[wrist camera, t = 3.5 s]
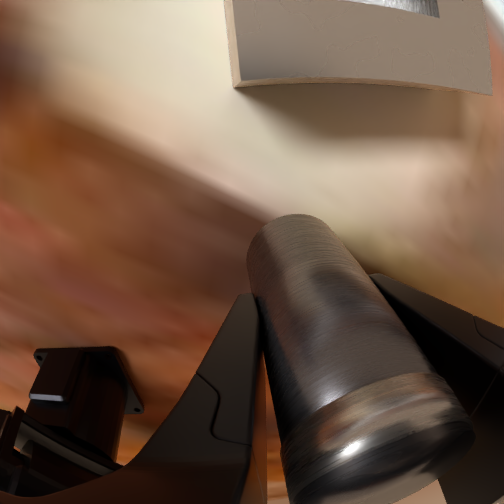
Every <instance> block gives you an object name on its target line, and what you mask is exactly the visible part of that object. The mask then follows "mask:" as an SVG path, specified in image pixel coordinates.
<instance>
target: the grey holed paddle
mask: <svg viewBox="0 0 504 504" xmlns="http://www.w3.org/2000/svg"><path fill="white" fill-rule="evenodd" d="M224 7H225V17H226V26H227V36H228V45H229V55H230V64H231V74H232V83H233V88H236V87H246V86H258V85H272V84H292V83H360V84H379V85H393V86H405V87H415V88H423V89H431V90H445V91H456V92H466V93H475V94H483V95H490V96H492V74H491V60H490V50H489V41H488V33H487V26H486V20H485V14H484V8H483V3H482V0H224Z"/></svg>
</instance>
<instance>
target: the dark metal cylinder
mask: <svg viewBox="0 0 504 504" xmlns="http://www.w3.org/2000/svg"><path fill="white" fill-rule="evenodd" d="M247 269H248V275H249V280H250V285H251V291H252V293H253V294H254V296H255V300H256V304H257V309H258V313H259V319H260V328H261V339H262V349H263V354H264V359H265V364H266V369H267V375H268V380H269V385H270V390H271V395H272V400H273V406H274V411H275V416H276V421H277V426H278V431H279V436H280V441H281V450H280V456H281V461H282V467H283V472H284V477H285V482H286V487H287V492H288V497H289V502H290V504H392V503H394V502H397V501H399V500H401V499H403V498H405V497H407V496H409V495H411V494H413V493H415V492H417V491H419V490H421V489H422V488H424V487H426V486H427V485H429V484H430V483H432V482H434V481H435V480H437V479H438V478H440V477H441V476H442V475H444V474H445V473H446V472H448V471H449V470H450V469H451V468H452V467H454V466H455V465H456V464H457V463H458V462H459V461H460V460H461V459H462V458H463V457H464V456H465V455H466V454H467V453H468V451H469V450H470V449H471V447H472V446H473V444H474V442H475V439H476V435H475V433H474V431H473V423H472V421H471V420H470V418H469V416H468V415H467V413H466V412H465V410H464V408H463V407H462V405H461V404H460V402H459V400H458V399H457V397H456V396H455V394H454V392H453V391H452V389H451V388H450V386H449V385H448V383H447V382H446V380H445V379H444V378H443V377H441V376H439V375H438V373H437V372H436V370H435V369H434V367H433V366H432V364H431V363H430V361H429V360H428V358H427V357H426V355H425V354H424V352H423V351H422V349H421V348H420V346H419V345H418V343H417V342H416V341H415V339H414V338H413V336H412V335H411V333H410V332H409V331H408V329H407V328H406V326H405V325H404V324H403V322H402V321H401V319H400V318H399V317H398V315H397V314H396V312H395V311H394V310H393V308H392V307H391V306H390V304H389V303H388V302H387V300H386V299H385V297H384V296H383V295H382V293H381V292H380V291H379V289H378V288H377V287H376V285H375V284H374V283H373V281H372V280H371V279H370V278H369V276H368V275H367V274H366V272H365V271H364V270H363V268H362V267H361V266H360V265H359V263H358V262H357V261H356V259H355V258H354V257H353V256H352V254H351V253H350V252H349V251H348V249H347V248H346V247H345V246H344V244H343V243H342V242H341V241H340V239H339V238H338V237H337V236H336V234H335V233H334V232H333V231H332V230H331V228H330V227H329V226H328V225H327V224H326V223H324V222H323V221H322V220H320V219H318V218H316V217H313V216H310V215H305V214H291V215H285V216H282V217H279V218H277V219H275V220H273V221H271V222H269V223H268V224H266V225H265V226H264V227H263V228H262V229H261V230H260V231H259V232H258V233H257V234H256V235H255V237H254V238H253V240H252V242H251V244H250V246H249V249H248V252H247Z"/></svg>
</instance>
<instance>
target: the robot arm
mask: <svg viewBox="0 0 504 504" xmlns="http://www.w3.org/2000/svg"><path fill="white" fill-rule="evenodd" d="M368 276H369V278H370V279H371V280H372V281H373V283H374V284H375V285H376V287H377V288H378V289H379V291H380V292H381V293H382V295H383V296H384V297H385V299H386V300H387V302H388V303H389V304H390V306H391V307H392V308H393V310H394V311H395V312H396V314H397V315H398V317H399V318H400V319H401V321H402V322H403V324H404V325H405V326H406V328H407V329H408V331H409V332H410V333H411V335H412V336H413V338H414V339H415V341H416V342H417V343H418V345H419V346H420V348H421V349H422V351H423V352H424V354H425V355H426V357H427V358H428V360H429V361H430V363H431V364H432V366H433V367H434V369H435V370H436V372H437V373H438V375H439V376H441V377H443V378H444V379H445V380H446V382H447V383H448V385H449V386H450V388H451V389H452V391H453V392H454V394H455V396H456V397H457V399H458V400H459V402H460V404H461V405H462V407H463V408H464V410H465V412H466V413H467V415H468V416H469V418H470V420H471V421H472V423H473V431H474V433H475V435H476V439H475V442H474V444H473V446H472V447H471V449H470V450H469V451H468V453H467V454H466V455H465V456H464V457H463V458H462V459H461V460H460V461H459V462H458V463H457V464H456V465H455V466H454V467H452V468H451V469H450V470H449V471H448V472H446V473H445V474H444V475H442V476H441V477H440V478H438V481H439V484H440V486H441V489H442V492H443V494H444V497H445V500H446V502H447V504H496V503H499V504H504V328H502V327H499V326H497V325H495V324H492V323H490V322H488V321H486V320H483V319H481V318H479V317H477V316H473V315H472V314H470V313H468V312H466V311H464V310H462V309H459V308H457V307H455V306H453V305H451V304H448V303H446V302H444V301H442V300H439V299H437V298H435V297H433V296H430V295H428V294H426V293H424V292H421V291H419V290H417V289H415V288H412V287H410V286H408V285H405V284H403V283H401V282H399V281H396V280H394V279H392V278H389V277H387V276H385V275H382V274H380V273H377V274H371V275H368ZM108 354H109V355H108ZM33 356H34V358H35V360H36V362H37V363H38V365H39V366H40V370H39V372H38V375H37V377H36V379H35V381H34V383H33V386H32V388H31V390H30V393H29V398H30V399H31V400H30V402H29V405H28V407H27V410H26V412H25V411H24V410H22V409H21V408H19V407H18V406H16V407H15V409H14V410H13V411H12V412H10V411H6V410H2V409H0V504H267V443H266V390H265V367H264V357H263V349H262V339H261V328H260V319H259V313H258V309H257V304H256V300H255V296H254V294H253V293H247V294H240V295H238V297H237V299H236V301H235V302H234V304H233V306H232V308H231V310H230V311H229V313H228V315H227V317H226V319H225V321H224V322H223V324H222V326H221V328H220V330H219V331H218V333H217V335H216V337H215V339H214V340H213V342H212V344H211V346H210V348H209V349H208V351H207V353H206V355H205V357H204V358H203V360H202V362H201V364H200V365H199V367H198V369H197V371H196V374H194V376H193V378H192V379H191V381H190V383H189V385H188V387H187V388H186V390H185V391H184V393H183V395H182V396H181V398H180V400H179V401H178V402H177V404H176V405H175V406H174V408H173V409H172V411H171V412H170V413H169V415H168V416H167V417H166V419H165V420H164V421H163V423H162V424H161V425H160V426H159V428H158V429H157V430H156V431H155V433H154V434H153V435H152V437H151V438H150V439H149V440H148V442H147V443H146V444H145V445H144V447H143V448H142V449H141V451H140V452H139V453H138V454H137V455H136V456H135V457H134V458H133V459H132V460H131V461H130V462H129V463H128V464H126V465H125V466H123V465H120V464H118V463H116V460H117V453H118V447H119V441H120V435H121V429H122V423H123V418H124V414H142V413H143V412H144V408H145V407H144V404H143V402H142V401H141V399H140V397H139V395H138V393H137V391H136V389H135V388H134V386H133V384H132V382H131V380H130V378H129V376H128V374H127V372H126V370H125V368H124V366H123V364H122V362H121V360H120V358H119V356H118V353H117V352H116V350H115V349H113V348H111V347H87V348H54V349H36V350H35V352H34V355H33ZM24 412H25V413H24ZM14 446H15V447H17V448H19V449H20V450H21V451H20V452H18V451H17V450H15V449H14Z"/></svg>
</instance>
